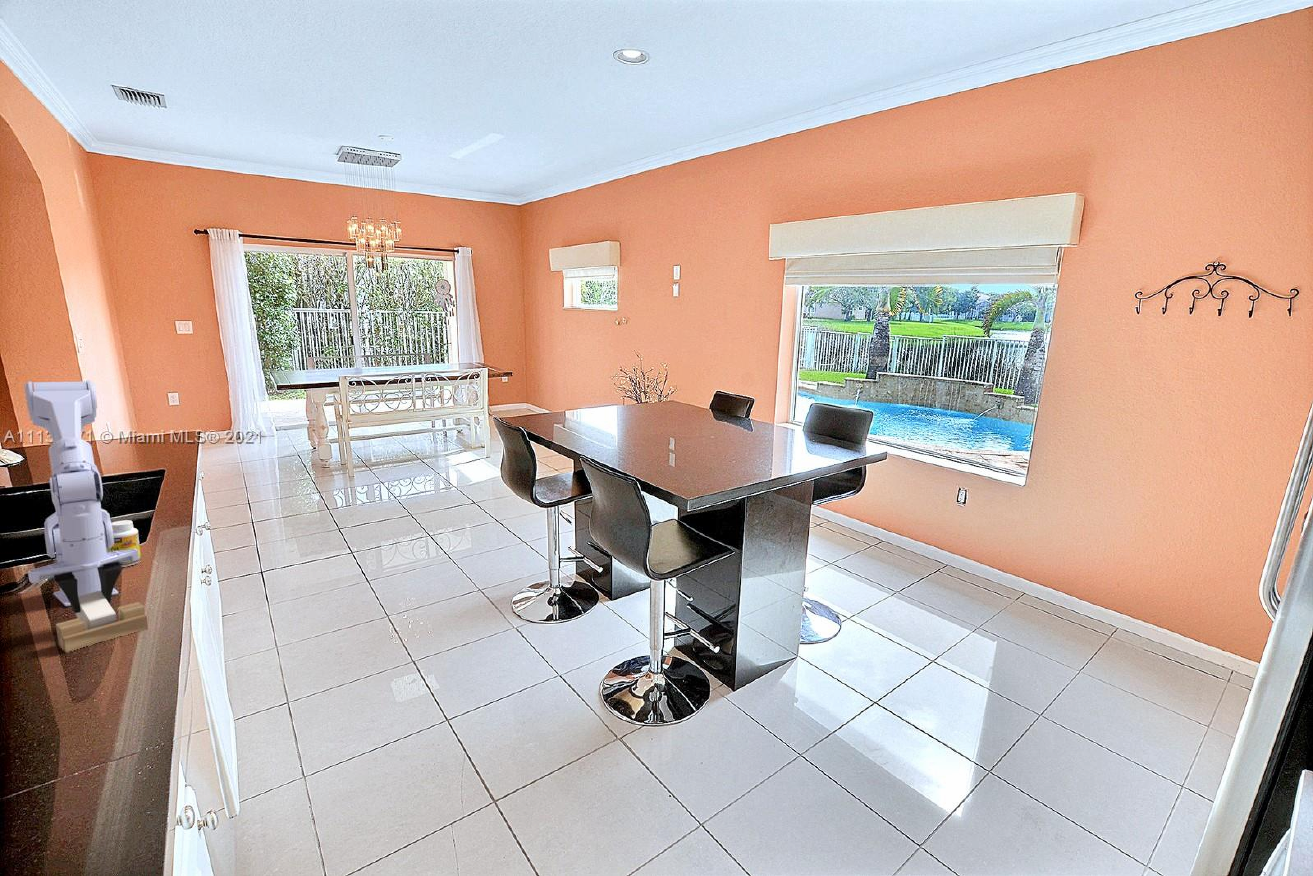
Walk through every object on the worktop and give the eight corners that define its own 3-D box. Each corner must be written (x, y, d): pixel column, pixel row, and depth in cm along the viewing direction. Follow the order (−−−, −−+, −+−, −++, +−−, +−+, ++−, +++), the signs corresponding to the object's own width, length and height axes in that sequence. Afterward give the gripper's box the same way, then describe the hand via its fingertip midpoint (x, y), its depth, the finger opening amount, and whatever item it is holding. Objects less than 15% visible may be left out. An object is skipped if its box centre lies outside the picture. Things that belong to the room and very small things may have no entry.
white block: (75, 615, 110) (74, 596, 109) (100, 608, 113) (100, 590, 112) (90, 639, 106) (89, 620, 105) (116, 632, 109) (115, 613, 108)
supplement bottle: (107, 570, 135) (102, 527, 134) (112, 562, 140) (107, 520, 138) (139, 566, 138) (134, 524, 137) (143, 558, 143) (138, 517, 141)
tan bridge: (58, 645, 103) (55, 624, 103) (140, 621, 113) (138, 602, 112) (65, 653, 101) (62, 631, 101) (148, 628, 110) (146, 608, 110)
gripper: (31, 552, 100) (42, 628, 102) (141, 531, 111) (148, 599, 114) (21, 543, 103) (31, 616, 106) (128, 524, 115) (136, 590, 117)
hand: (91, 607), depth 110 cm, fingers closed on white block, 3 cm apart
